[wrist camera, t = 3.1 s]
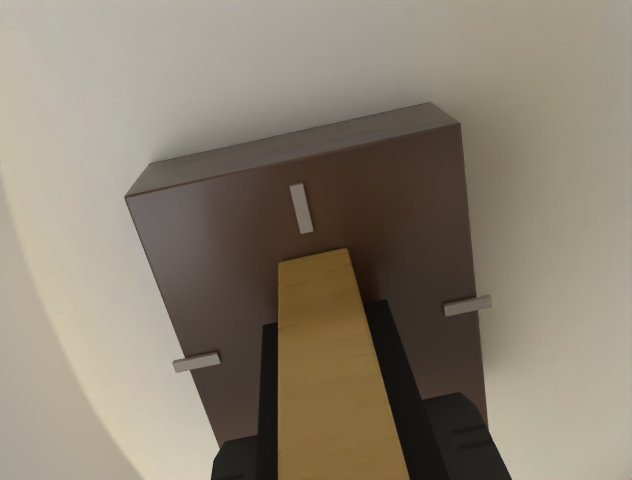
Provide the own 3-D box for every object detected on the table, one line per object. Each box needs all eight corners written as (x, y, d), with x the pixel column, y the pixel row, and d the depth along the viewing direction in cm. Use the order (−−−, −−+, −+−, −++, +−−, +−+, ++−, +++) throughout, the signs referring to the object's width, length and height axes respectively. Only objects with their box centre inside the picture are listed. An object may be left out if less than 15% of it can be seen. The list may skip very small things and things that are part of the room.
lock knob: (277, 261, 15) (275, 522, 8) (347, 246, 15) (414, 494, 8) (316, 408, 17) (345, 720, 10) (377, 396, 17) (452, 700, 10)
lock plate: (136, 166, 17) (108, 201, 14) (442, 99, 17) (477, 121, 14) (231, 426, 21) (223, 493, 19) (471, 377, 21) (501, 437, 18)
